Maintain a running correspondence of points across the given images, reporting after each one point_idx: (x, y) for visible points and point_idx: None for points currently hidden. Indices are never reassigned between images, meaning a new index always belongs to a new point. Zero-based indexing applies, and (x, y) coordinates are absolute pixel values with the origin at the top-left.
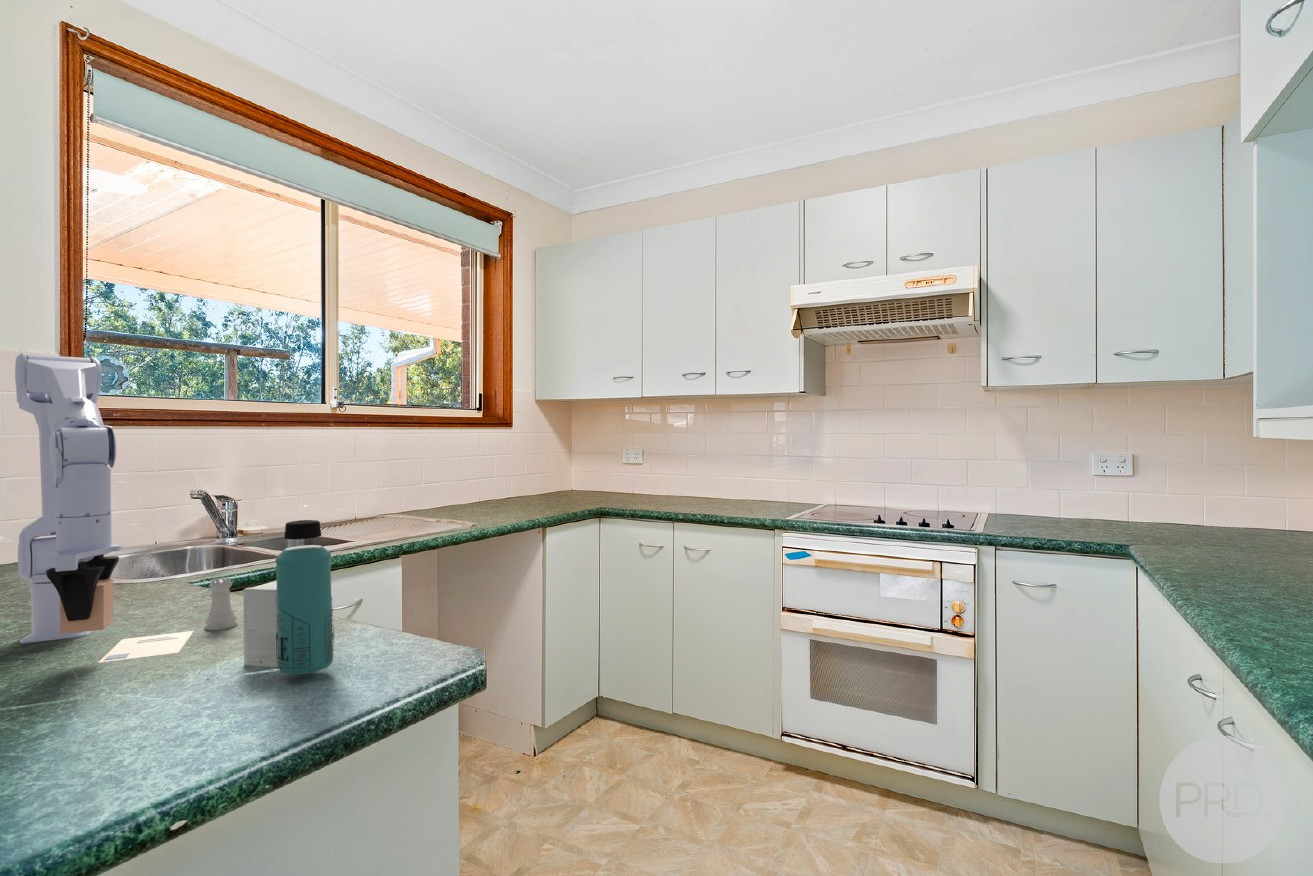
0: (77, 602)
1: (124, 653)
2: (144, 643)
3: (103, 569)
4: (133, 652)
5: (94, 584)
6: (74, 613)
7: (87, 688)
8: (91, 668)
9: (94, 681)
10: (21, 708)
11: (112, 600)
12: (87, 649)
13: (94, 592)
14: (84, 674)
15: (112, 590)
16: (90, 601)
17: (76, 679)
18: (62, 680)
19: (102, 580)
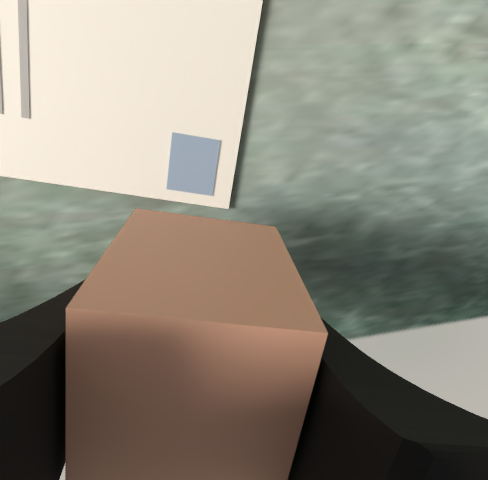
0: None
1: (158, 147)
2: (49, 92)
3: (401, 430)
4: (162, 122)
5: (402, 383)
6: None
7: (443, 206)
8: (251, 217)
9: (391, 198)
10: (484, 303)
11: (123, 244)
12: (6, 250)
13: None
14: (302, 226)
15: (108, 269)
16: (336, 331)
17: (338, 238)
18: (322, 264)
19: (105, 362)
